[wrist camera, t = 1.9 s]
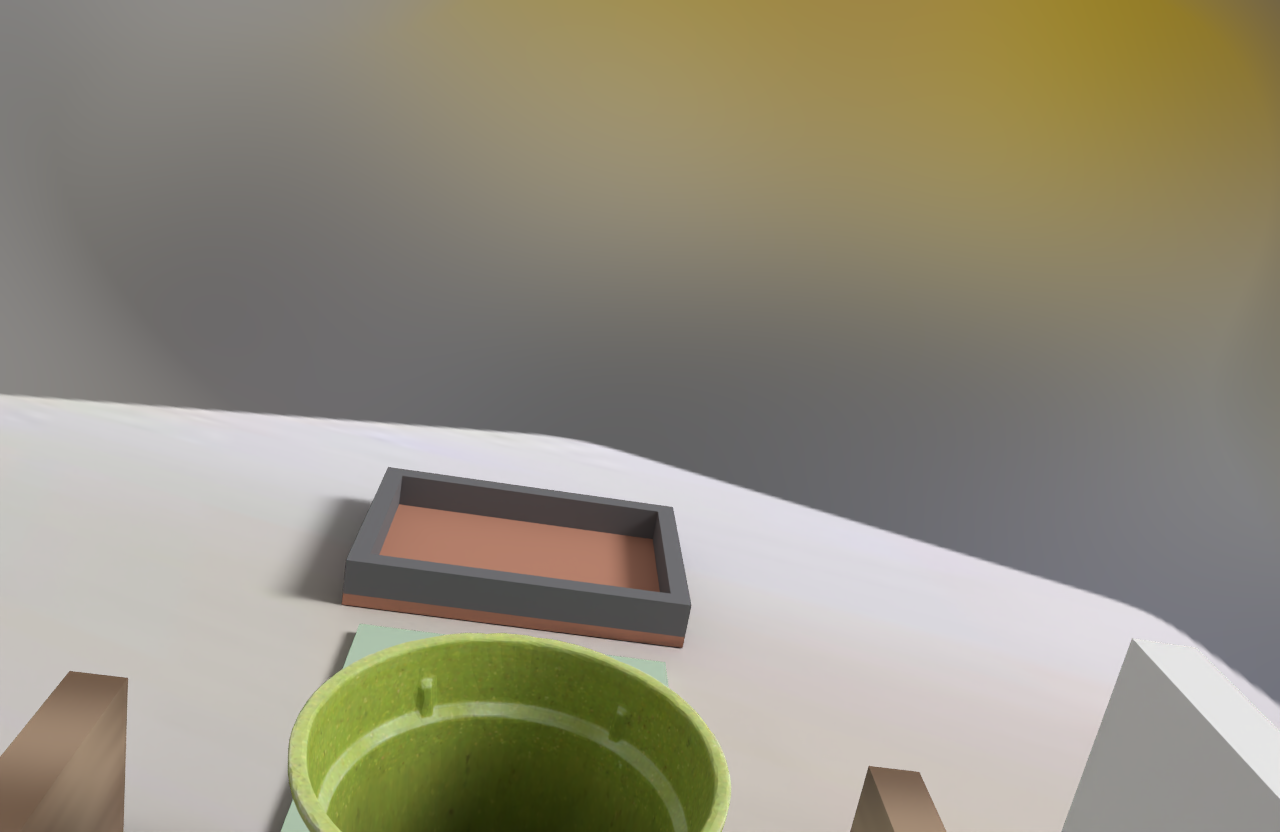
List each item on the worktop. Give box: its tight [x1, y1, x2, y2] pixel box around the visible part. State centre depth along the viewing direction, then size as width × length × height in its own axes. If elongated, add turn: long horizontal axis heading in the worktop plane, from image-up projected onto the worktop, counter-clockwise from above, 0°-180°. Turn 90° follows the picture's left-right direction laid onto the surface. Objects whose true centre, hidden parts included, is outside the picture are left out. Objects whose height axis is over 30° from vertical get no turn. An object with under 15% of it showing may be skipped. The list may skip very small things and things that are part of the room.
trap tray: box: [342, 467, 691, 648], centre depth 50 cm, size 10×14×2 cm
